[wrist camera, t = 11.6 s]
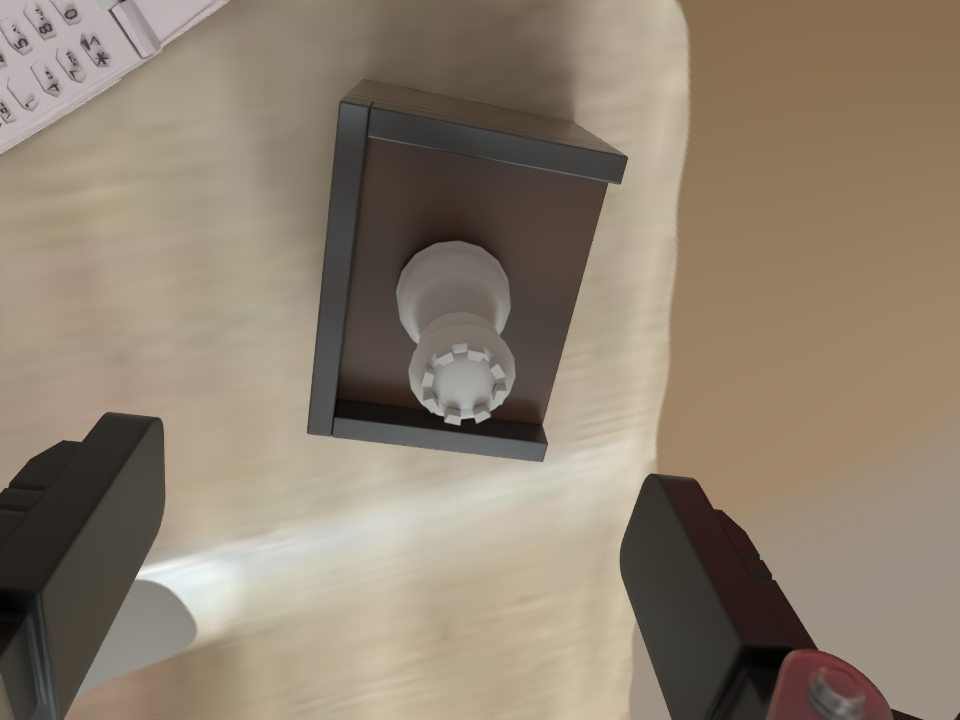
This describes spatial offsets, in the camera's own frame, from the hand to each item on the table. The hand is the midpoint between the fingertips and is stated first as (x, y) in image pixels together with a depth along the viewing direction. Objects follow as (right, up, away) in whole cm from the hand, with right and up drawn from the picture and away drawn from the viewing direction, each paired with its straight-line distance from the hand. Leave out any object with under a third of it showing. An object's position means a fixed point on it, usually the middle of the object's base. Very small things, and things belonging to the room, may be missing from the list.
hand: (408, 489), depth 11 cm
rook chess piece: (0, +5, +16) cm, 16 cm away
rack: (0, +8, +23) cm, 24 cm away
